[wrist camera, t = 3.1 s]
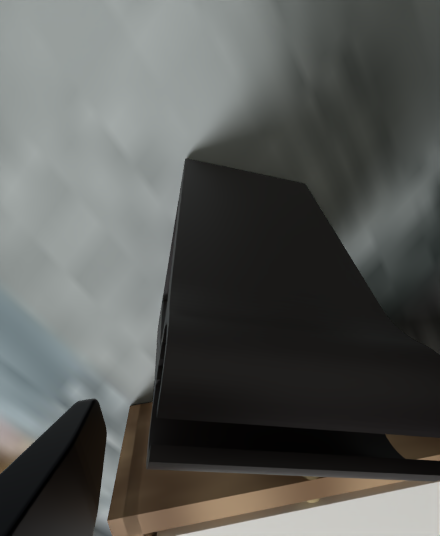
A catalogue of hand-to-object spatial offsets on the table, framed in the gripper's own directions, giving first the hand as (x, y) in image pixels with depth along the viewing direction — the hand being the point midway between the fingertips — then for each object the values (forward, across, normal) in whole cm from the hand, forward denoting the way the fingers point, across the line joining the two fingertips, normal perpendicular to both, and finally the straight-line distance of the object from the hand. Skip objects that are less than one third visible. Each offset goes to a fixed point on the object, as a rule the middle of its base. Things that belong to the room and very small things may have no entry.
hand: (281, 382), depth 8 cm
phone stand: (+10, 0, 0) cm, 10 cm away
